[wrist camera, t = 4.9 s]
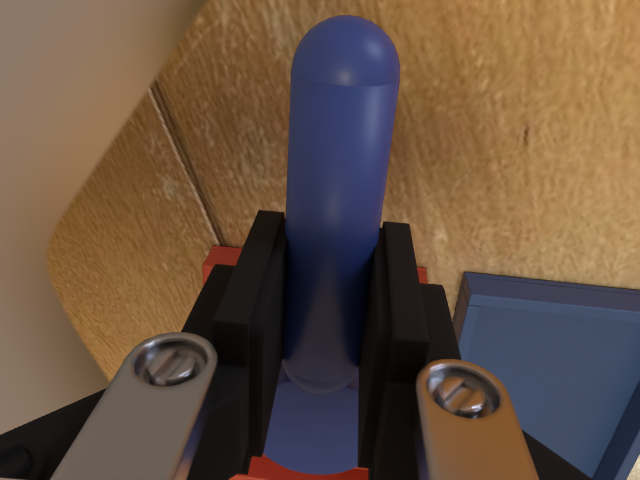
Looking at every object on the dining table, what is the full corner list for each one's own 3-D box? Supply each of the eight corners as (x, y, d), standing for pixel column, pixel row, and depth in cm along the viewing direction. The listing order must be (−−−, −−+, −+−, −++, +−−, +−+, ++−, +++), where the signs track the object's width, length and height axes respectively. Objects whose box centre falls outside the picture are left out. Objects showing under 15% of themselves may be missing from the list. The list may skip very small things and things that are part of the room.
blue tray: (464, 271, 24) (470, 294, 23) (687, 295, 24) (711, 320, 22) (416, 477, 31) (418, 506, 29) (587, 499, 31) (600, 530, 29)
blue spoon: (259, 3, 9) (237, 13, 7) (444, 18, 9) (462, 30, 7) (256, 430, 14) (242, 489, 12) (373, 442, 14) (375, 504, 12)
